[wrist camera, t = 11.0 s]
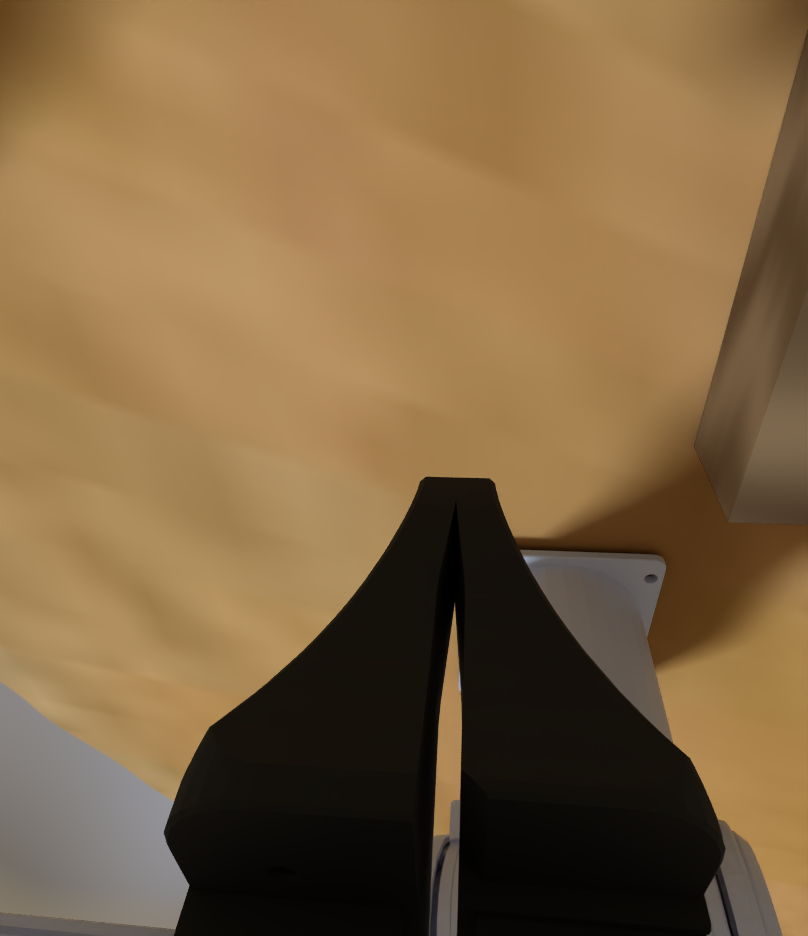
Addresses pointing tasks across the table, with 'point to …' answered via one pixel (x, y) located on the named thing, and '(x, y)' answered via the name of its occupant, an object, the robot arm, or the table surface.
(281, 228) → the table surface
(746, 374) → the brown flat block
